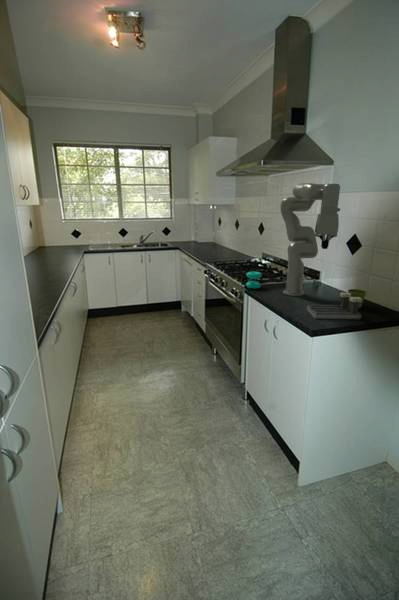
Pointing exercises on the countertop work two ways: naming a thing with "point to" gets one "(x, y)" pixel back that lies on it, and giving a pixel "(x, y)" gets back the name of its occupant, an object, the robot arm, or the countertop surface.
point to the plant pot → (357, 295)
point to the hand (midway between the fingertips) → (324, 248)
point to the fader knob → (355, 304)
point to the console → (332, 312)
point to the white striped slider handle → (345, 299)
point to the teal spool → (253, 283)
